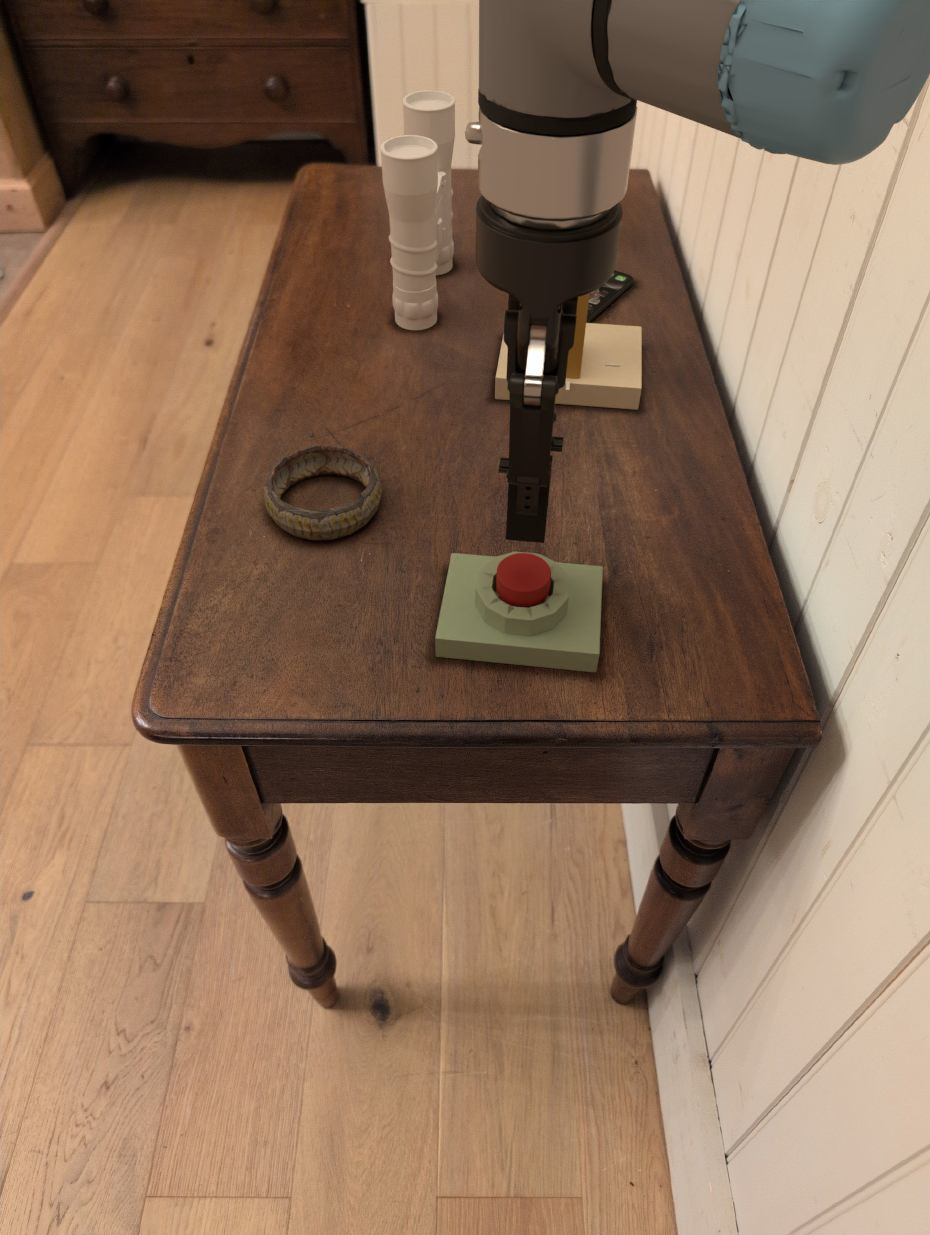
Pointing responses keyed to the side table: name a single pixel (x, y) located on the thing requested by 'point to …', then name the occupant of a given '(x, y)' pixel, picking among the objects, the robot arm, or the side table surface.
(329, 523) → the decorative ring
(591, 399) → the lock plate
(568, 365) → the lock knob
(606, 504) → the side table surface
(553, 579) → the box
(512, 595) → the button
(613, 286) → the smartphone
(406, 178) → the binoculars
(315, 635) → the side table surface
